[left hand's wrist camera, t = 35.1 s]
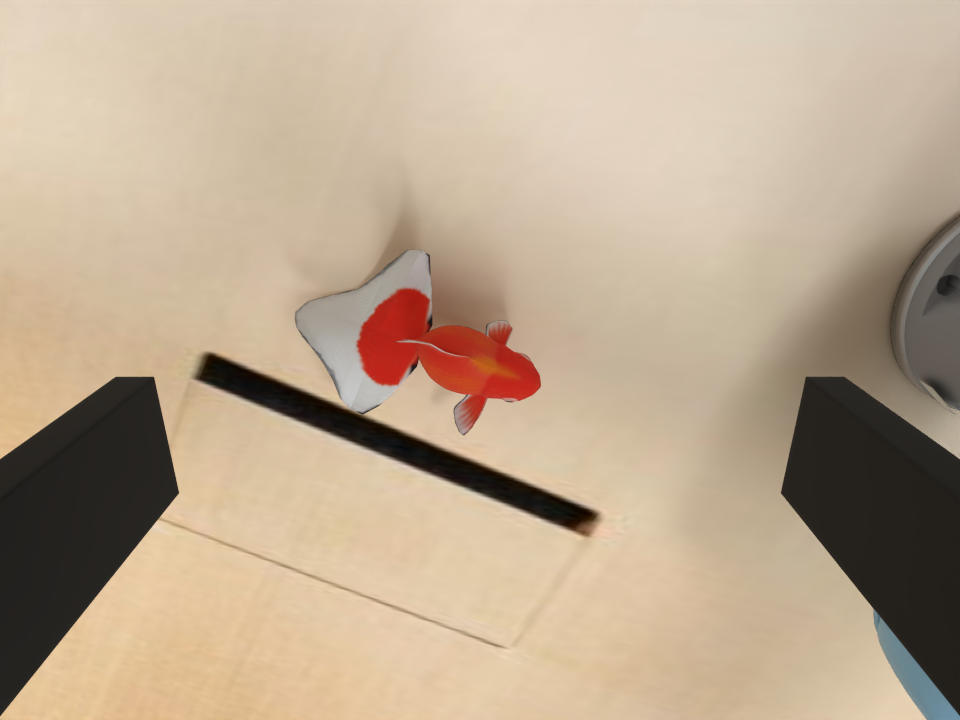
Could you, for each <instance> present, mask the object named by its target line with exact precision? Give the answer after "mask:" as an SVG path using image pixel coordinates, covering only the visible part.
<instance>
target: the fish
mask: <svg viewBox="0 0 960 720" xmlns="http://www.w3.org/2000/svg"><path fill="white" fill-rule="evenodd" d="M295 322H296V327H297V328H298V330H299V332H300V333H301V335H302V337H303V338H304V339H305V340H306V341H307V343H308V344H309V345H310V346H311V347H312V349H313V350H314V351H315V353H316V354H317V355H318V357H319V358H320V359H321V361H322V362H323V364H324V365H325V367H326V369H327V371H328V372H329V374H330V376H331V377H332V379H333V381H334V384H335V386H336V389H337V391H338V394H339V397H340V399H341V400H342V401H343V402H344V403H345V404H346V405H347V406H348V407H349V408H350V409H352V410H354V411H356V412H358V413H361V414H365V413H366V412H368V411H370V410H372V409H374V408H376V407H378V406H379V405H380V404H381V403H383V402H384V401H385V400H386V399H387V398H389V397H390V396H391V395H392V394H393V393H394V392H395V390H396V389H397V388H398V387H399V386H400V385H401V384H402V383H403V382H404V381H405V379H406V378H407V377H408V376H409V375H410V374H411V373H412V371H413V370H414V369H415V368H416V367H417V364H418V359H419V360H420V362H421V364H422V366H423V367H424V369H425V370H426V372H427V374H428V375H429V376H430V378H431V379H433V380H434V381H435V382H436V383H437V384H439V385H440V386H442V387H444V388H445V389H448V390H450V391H453V392H457V393H461V394H467V395H466V396H465V398H464V399H463V400H462V401H460V402H459V403H458V404H457V405H456V406H455V408H454V418H455V423H456V426H457V428H458V430H459V432H460V433H461V434H462V435H465V434H466V433H467V432H468V431H469V430H470V429H471V428H472V427H473V425H474V424H475V422H476V421H477V419H478V418H479V416H480V414H481V412H482V410H483V408H484V406H485V404H486V401H487V398H497V399H502V400H504V401H506V402H515V401H520V400H523V399H525V398H527V397H530V396H531V395H533V394H534V393H535V392H536V391H537V390H538V389H539V388H540V387H541V381H540V375H539V373H538V372H537V370H536V368H535V367H534V365H533V363H532V362H531V360H530V358H529V357H528V356H527V355H525V354H523V353H517V352H514V351H512V350H511V349H509V348H508V347H507V346H506V343H507V341H508V339H509V336H510V334H511V331H512V327H511V326H510V325H509V323H508V321H496V322H492V323H489V324H487V326H486V335H485V334H483V333H481V332H478V331H476V330H473V329H470V328H467V327H462V326H443V327H439V328H436V329H433V330H431V331H429V330H430V328H431V327H432V285H431V274H430V255H428V254H427V253H426V252H424V251H423V250H406V251H405V252H404V253H403V254H401V255H400V256H399V257H397V258H396V259H395V260H394V261H392V262H391V263H390V264H388V265H387V266H386V267H385V268H384V269H383V270H382V271H381V272H379V273H378V274H377V275H376V276H375V277H374V278H373V279H371V280H370V281H368V282H367V283H366V284H364V285H363V286H362V287H360V288H359V289H356V290H351V291H347V292H343V293H339V294H335V295H332V296H327V297H323V298H318V299H315V300H311V301H308V302H306V303H305V304H304V305H303V306H302V307H301V308H299V309H298V310H297V311H296V312H295Z"/></svg>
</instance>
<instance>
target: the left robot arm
mask: <svg viewBox="0 0 960 720" xmlns="http://www.w3.org/2000/svg"><path fill="white" fill-rule="evenodd" d="M891 340H892V346H893V351H894V354H895V357H896V360H897V362H898V364H899V366H900V368H901V370H902V371H903V373H904V374H905V376H906V377H907V378H908V379H909V380H910V382H911V383H912V384H913V385H915V386H916V387H917V388H918V389H919V390H921V391H922V392H924V393H926V394H927V395H929V396H930V397H932V398H934V399H935V400H937V401H938V403H939V404H940V405H941V406H942V407H944V408H945V409H947V410H948V411H950V412H952V413H953V414H955V413H954V412H953V411H952V410H951V409H950V408H949V407H951V408H954V409H956V410H959V411H960V217H958V218H957V219H955V220H954V221H953V222H951V223H950V224H949V225H948V226H946V227H945V228H944V229H943V230H942V231H941V232H939V233H938V234H937V235H936V236H935V237H934V238H933V239H932V240H931V241H930V243H929V244H928V245H927V246H926V247H925V248H924V249H923V250H922V252H921V253H920V254H919V256H918V257H917V258H916V260H915V261H914V263H913V264H912V266H911V267H910V269H909V271H908V272H907V274H906V276H905V278H904V280H903V282H902V284H901V286H900V289H899V291H898V294H897V297H896V300H895V303H894V308H893V312H892V320H891ZM178 494H179V491H178V486H177V481H176V477H175V472H174V467H173V463H172V458H171V454H170V449H169V444H168V440H167V435H166V430H165V426H164V421H163V417H162V412H161V407H160V403H159V398H158V393H157V389H156V384H155V380H154V377H115V378H114V379H112V380H111V381H109V382H108V383H107V384H105V385H104V386H102V387H101V388H100V389H98V390H97V391H95V392H94V393H93V394H91V395H90V396H88V397H87V398H86V399H84V400H83V401H81V402H80V403H78V404H77V405H76V406H74V407H73V408H71V409H70V410H69V411H67V412H66V413H64V414H63V415H62V416H60V417H59V418H57V419H56V420H55V421H53V422H52V423H50V424H49V425H48V426H46V427H45V428H43V429H42V430H41V431H39V432H38V433H36V434H35V435H34V436H32V437H31V438H29V439H28V440H27V441H25V442H24V443H22V444H21V445H20V446H18V447H17V448H15V449H14V450H13V451H11V452H10V453H8V454H7V455H6V456H4V457H3V458H1V459H0V716H1V715H2V713H3V712H4V711H5V710H6V708H7V707H8V706H9V705H10V703H11V702H12V701H13V700H14V698H15V697H16V696H17V695H18V693H19V692H20V691H21V690H22V688H23V687H24V686H25V685H26V683H27V682H28V681H29V680H30V678H31V677H32V676H33V675H34V673H35V672H36V671H37V670H38V668H39V667H40V666H41V665H42V663H43V662H44V661H45V660H46V658H47V657H48V656H49V655H50V653H51V652H52V651H53V650H54V648H55V647H56V646H57V645H58V643H59V642H60V641H61V640H62V638H63V637H64V636H65V635H66V633H67V632H68V631H69V630H70V628H71V627H72V626H73V625H74V623H75V622H76V621H77V620H78V618H79V617H80V616H81V615H82V613H83V612H84V611H85V610H86V608H87V607H88V606H89V605H90V603H91V602H92V601H93V600H94V599H95V597H96V596H97V595H98V594H99V592H100V591H101V590H102V589H103V587H104V586H105V585H106V584H107V582H108V581H109V580H110V579H111V577H112V576H113V575H114V574H115V572H116V571H117V570H118V569H119V567H120V566H121V565H122V564H123V562H124V561H125V560H126V559H127V557H128V556H129V555H130V554H131V552H132V551H133V550H134V549H135V547H136V546H137V545H138V544H139V542H140V541H141V540H142V539H143V537H144V536H145V535H146V534H147V532H148V531H149V530H150V529H151V527H152V526H153V525H154V524H155V522H156V521H157V520H158V519H159V517H160V516H161V515H162V514H163V512H164V511H165V510H166V509H167V507H168V506H169V505H170V504H171V502H172V501H173V500H174V499H175V497H176V496H177V495H178ZM781 494H782V495H783V496H784V497H785V499H786V500H787V501H788V502H789V504H790V505H791V506H792V507H793V509H794V510H795V511H796V512H797V514H798V515H799V516H800V517H801V519H802V520H803V521H804V522H805V524H806V525H807V526H808V527H809V529H810V530H811V531H812V532H813V534H814V535H815V536H816V537H817V539H818V540H819V541H820V542H821V544H822V545H823V546H824V547H825V549H826V550H827V551H828V552H829V554H830V555H831V556H832V557H833V559H834V560H835V561H836V562H837V564H838V565H839V566H840V567H841V569H842V570H843V571H844V572H845V574H846V575H847V576H848V577H849V579H850V580H851V581H852V582H853V584H854V585H855V586H856V587H857V589H858V590H859V591H860V592H861V594H862V595H863V596H864V597H865V599H866V600H867V601H868V602H869V603H870V605H871V606H872V607H873V608H874V611H873V615H874V624H875V628H876V630H877V635H878V638H879V642H880V645H881V647H882V649H883V652H884V654H885V656H886V658H887V660H888V662H889V664H890V666H891V667H892V669H893V671H894V673H895V674H896V676H897V678H898V679H899V681H900V682H901V684H902V686H903V687H904V689H905V690H906V692H907V693H908V695H909V696H910V697H911V699H912V700H913V702H914V703H915V705H916V706H917V707H918V709H919V710H920V711H921V713H922V714H923V715H924V717H925V718H926V719H927V720H960V459H959V458H957V457H956V456H954V455H953V454H952V453H950V452H949V451H947V450H946V449H945V448H943V447H942V446H940V445H939V444H938V443H936V442H935V441H933V440H932V439H931V438H929V437H928V436H926V435H925V434H924V433H922V432H921V431H919V430H918V429H917V428H915V427H914V426H912V425H911V424H910V423H908V422H907V421H905V420H904V419H903V418H901V417H900V416H898V415H897V414H896V413H894V412H893V411H891V410H890V409H889V408H887V407H886V406H884V405H883V404H882V403H880V402H879V401H877V400H876V399H874V398H873V397H872V396H870V395H869V394H867V393H866V392H865V391H863V390H862V389H860V388H859V387H858V386H856V385H855V384H853V383H852V382H851V381H849V380H848V379H846V378H845V377H806V380H805V384H804V389H803V393H802V398H801V403H800V407H799V412H798V417H797V421H796V426H795V430H794V435H793V440H792V444H791V449H790V454H789V458H788V463H787V467H786V472H785V477H784V481H783V486H782V491H781Z"/></svg>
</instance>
